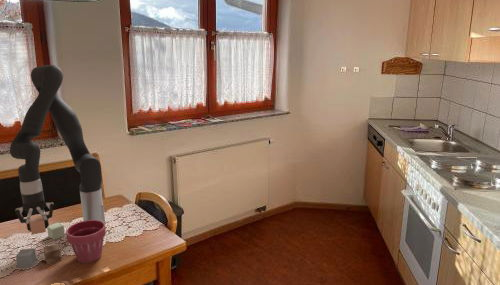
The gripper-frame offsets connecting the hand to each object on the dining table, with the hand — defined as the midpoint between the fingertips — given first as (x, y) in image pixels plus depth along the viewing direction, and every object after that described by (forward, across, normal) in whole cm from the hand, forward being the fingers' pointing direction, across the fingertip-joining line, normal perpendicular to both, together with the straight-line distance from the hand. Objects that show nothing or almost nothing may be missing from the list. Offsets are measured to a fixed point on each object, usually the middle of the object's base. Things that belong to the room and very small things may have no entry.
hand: (38, 229), depth 160 cm
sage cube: (+9, -6, -10) cm, 15 cm away
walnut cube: (+9, -4, +11) cm, 15 cm away
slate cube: (+9, +5, +10) cm, 14 cm away
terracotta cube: (+1, 0, 0) cm, 1 cm away
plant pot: (+10, -17, +15) cm, 25 cm away
